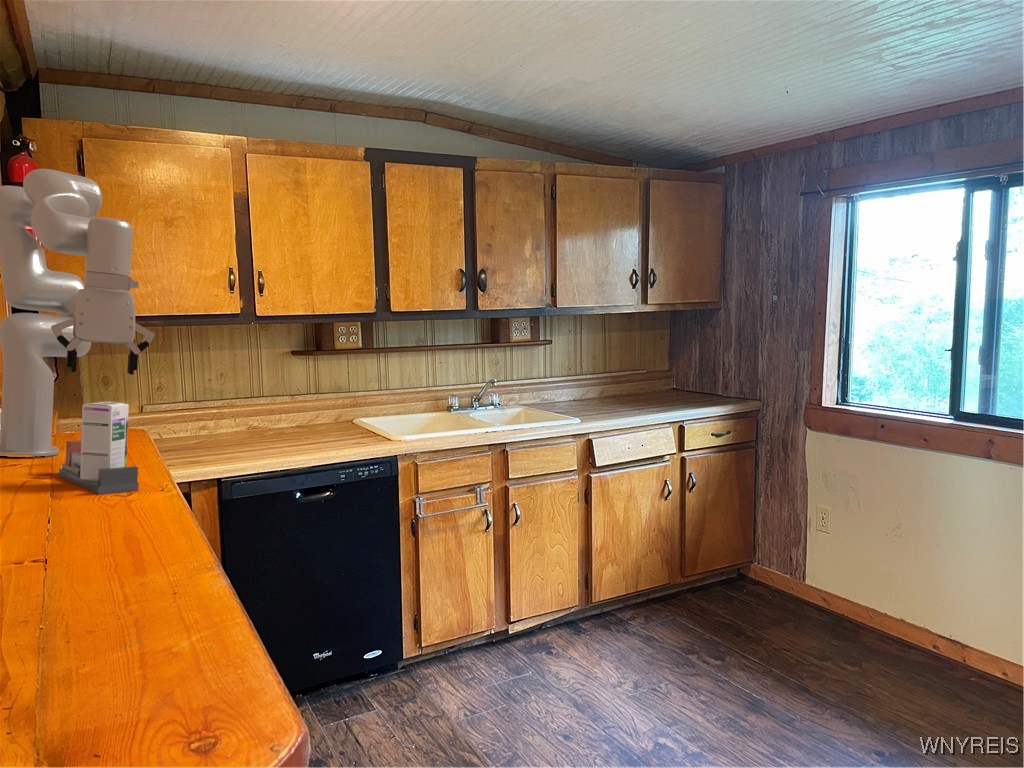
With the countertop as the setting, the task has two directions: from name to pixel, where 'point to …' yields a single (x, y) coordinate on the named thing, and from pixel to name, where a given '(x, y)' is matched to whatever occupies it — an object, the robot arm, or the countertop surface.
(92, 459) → the syrup box
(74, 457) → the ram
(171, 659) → the countertop surface
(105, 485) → the press bed
